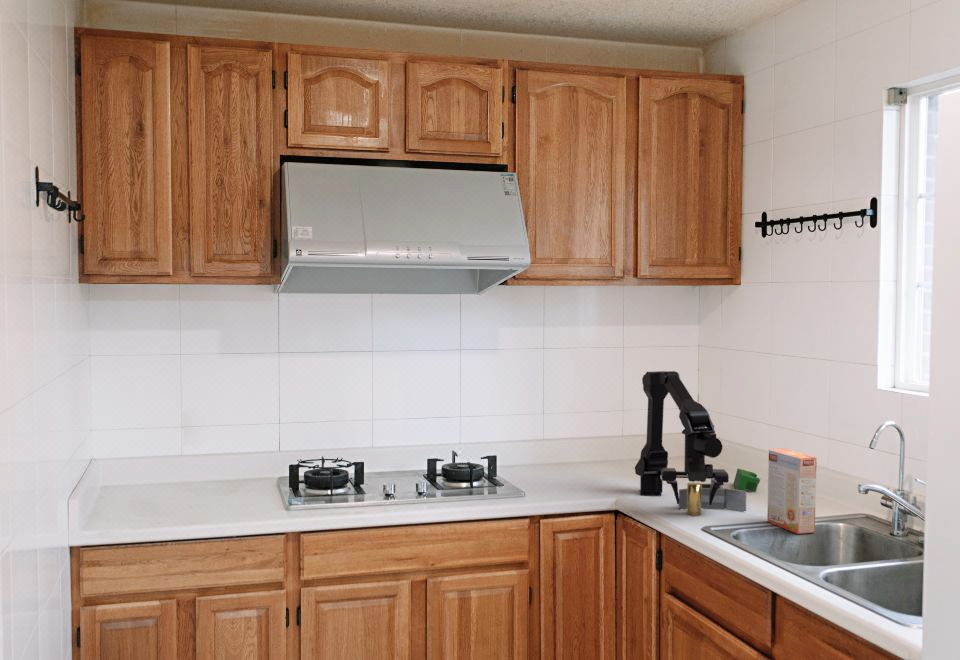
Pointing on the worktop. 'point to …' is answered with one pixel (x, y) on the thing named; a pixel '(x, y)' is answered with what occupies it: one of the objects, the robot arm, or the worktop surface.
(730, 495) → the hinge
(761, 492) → the worktop surface
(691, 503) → the pin
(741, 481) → the clamp
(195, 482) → the worktop surface
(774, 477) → the cracker box
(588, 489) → the worktop surface
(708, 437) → the robot arm
